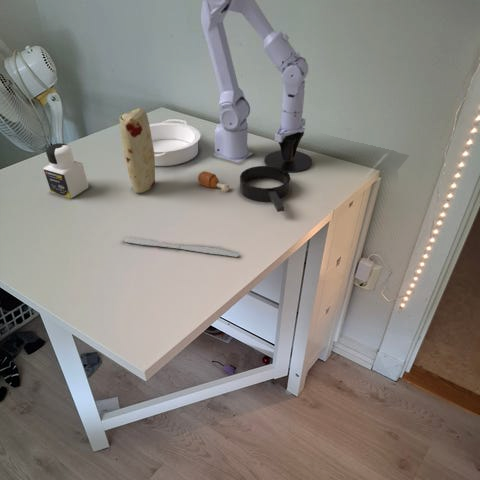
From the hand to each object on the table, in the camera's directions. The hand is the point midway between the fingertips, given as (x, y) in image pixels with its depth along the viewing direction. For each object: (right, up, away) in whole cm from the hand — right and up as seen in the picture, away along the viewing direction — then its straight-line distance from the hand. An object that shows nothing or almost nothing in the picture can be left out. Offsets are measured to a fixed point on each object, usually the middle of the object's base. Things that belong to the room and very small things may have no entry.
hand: (288, 158), depth 128 cm
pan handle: (-5, -18, -20) cm, 28 cm away
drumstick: (-21, -12, -9) cm, 26 cm away
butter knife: (-28, -31, -29) cm, 51 cm away
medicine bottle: (-60, -13, -10) cm, 62 cm away
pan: (-8, -13, -11) cm, 18 cm away
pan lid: (0, -1, +1) cm, 1 cm away
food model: (-40, -12, -9) cm, 43 cm away
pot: (-37, +5, +7) cm, 38 cm away
